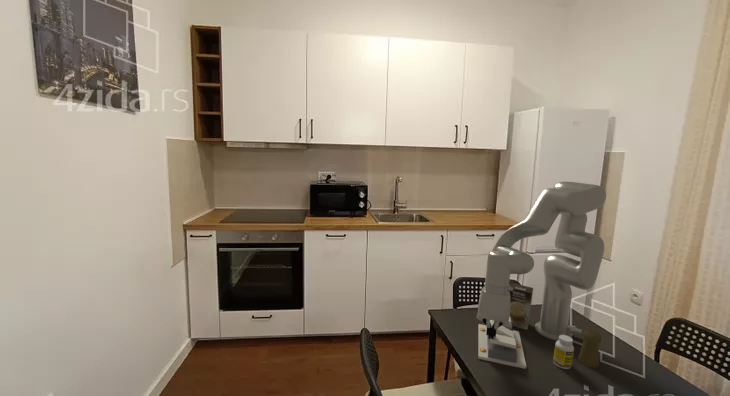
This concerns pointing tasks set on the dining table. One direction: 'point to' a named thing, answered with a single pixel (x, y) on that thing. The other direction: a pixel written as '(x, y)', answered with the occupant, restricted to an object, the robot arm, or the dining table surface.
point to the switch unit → (500, 349)
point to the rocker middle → (504, 331)
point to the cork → (590, 349)
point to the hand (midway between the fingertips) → (490, 337)
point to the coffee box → (520, 305)
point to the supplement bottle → (563, 352)
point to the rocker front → (504, 341)
